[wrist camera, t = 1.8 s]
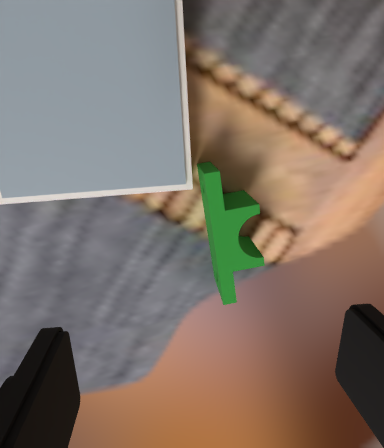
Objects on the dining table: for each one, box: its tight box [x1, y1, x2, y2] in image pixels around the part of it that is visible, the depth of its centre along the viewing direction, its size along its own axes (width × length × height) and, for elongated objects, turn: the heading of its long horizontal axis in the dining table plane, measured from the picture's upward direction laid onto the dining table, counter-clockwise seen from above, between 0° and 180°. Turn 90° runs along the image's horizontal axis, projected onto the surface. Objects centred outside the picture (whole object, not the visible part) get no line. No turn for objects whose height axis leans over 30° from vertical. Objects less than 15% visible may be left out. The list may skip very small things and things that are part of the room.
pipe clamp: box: [197, 162, 264, 305], centre depth 25 cm, size 11×4×5 cm, turn 9°
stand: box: [0, 0, 193, 204], centre depth 21 cm, size 14×14×3 cm
